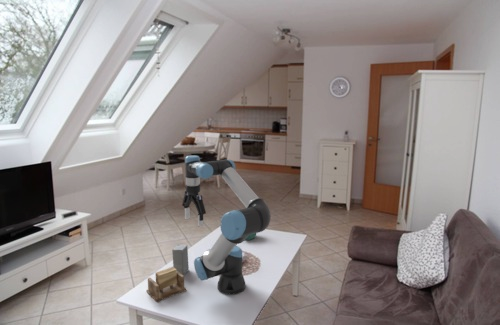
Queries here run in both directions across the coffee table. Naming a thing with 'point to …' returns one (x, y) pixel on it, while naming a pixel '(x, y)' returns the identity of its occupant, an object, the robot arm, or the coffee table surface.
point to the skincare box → (180, 259)
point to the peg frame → (165, 292)
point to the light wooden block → (166, 277)
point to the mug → (251, 236)
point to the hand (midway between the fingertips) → (193, 222)
